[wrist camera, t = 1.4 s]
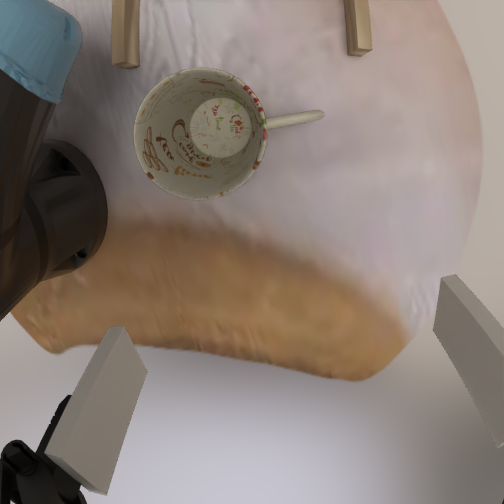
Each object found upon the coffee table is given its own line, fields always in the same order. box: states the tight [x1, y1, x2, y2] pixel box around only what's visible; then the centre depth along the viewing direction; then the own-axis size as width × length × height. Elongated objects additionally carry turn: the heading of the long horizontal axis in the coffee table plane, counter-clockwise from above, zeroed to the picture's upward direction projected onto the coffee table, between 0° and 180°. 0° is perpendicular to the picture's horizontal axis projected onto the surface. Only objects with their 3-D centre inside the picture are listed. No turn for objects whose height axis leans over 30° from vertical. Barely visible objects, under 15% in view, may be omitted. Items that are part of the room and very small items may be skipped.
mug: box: [133, 68, 324, 200], centre depth 22 cm, size 8×12×10 cm, turn 102°
